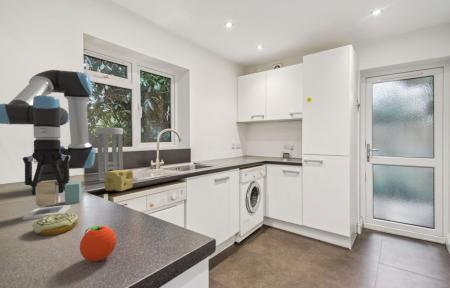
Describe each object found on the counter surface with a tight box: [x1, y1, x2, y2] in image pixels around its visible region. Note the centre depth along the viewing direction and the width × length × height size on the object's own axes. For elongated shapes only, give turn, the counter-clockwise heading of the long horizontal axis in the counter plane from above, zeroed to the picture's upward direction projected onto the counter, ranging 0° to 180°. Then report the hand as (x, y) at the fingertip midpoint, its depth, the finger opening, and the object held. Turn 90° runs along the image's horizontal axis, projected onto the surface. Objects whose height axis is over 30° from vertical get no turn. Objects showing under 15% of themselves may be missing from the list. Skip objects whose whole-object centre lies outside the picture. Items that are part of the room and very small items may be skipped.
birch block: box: [36, 180, 58, 207], centre depth 79 cm, size 5×5×8 cm
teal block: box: [64, 181, 83, 205], centre depth 93 cm, size 5×5×8 cm
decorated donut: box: [32, 212, 79, 237], centre depth 64 cm, size 10×11×4 cm
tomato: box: [79, 225, 117, 262], centre depth 47 cm, size 8×7×7 cm
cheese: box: [104, 169, 134, 192], centre depth 118 cm, size 10×11×10 cm
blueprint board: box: [22, 204, 72, 221], centre depth 79 cm, size 11×11×1 cm
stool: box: [95, 127, 124, 183], centre depth 145 cm, size 16×16×35 cm
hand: (48, 202), depth 79 cm, fingers closed on birch block, 5 cm apart
